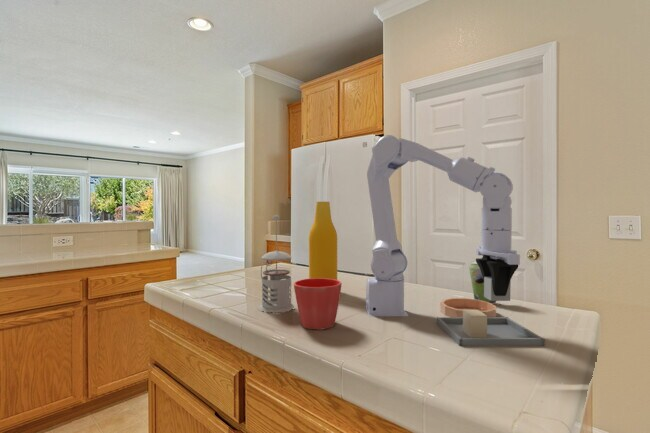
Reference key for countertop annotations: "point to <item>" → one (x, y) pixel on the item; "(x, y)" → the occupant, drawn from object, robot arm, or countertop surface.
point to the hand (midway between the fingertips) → (495, 293)
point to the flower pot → (317, 302)
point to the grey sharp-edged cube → (490, 292)
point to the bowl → (466, 307)
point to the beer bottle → (323, 244)
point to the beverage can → (478, 283)
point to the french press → (276, 283)
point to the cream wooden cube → (475, 323)
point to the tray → (491, 333)
